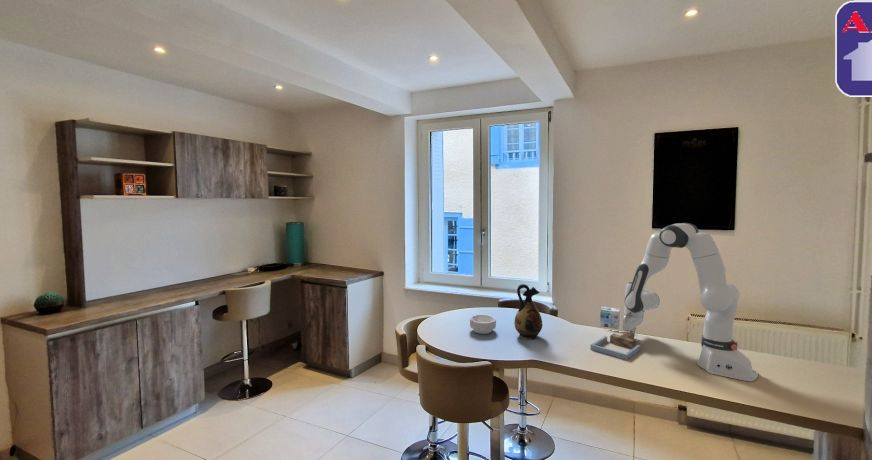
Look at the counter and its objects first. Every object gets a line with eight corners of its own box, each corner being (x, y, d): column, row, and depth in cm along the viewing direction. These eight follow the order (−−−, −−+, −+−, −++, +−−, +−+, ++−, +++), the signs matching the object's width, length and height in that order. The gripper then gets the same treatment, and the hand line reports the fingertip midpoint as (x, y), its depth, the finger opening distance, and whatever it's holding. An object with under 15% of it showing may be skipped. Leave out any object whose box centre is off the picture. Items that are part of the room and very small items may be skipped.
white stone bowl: (497, 335, 229) (497, 322, 228) (470, 336, 230) (470, 322, 229) (494, 326, 244) (494, 314, 244) (469, 326, 245) (469, 314, 244)
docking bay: (640, 350, 207) (640, 345, 207) (626, 360, 195) (627, 355, 195) (604, 340, 220) (605, 336, 220) (590, 349, 209) (590, 344, 208)
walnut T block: (641, 342, 217) (642, 335, 217) (633, 348, 209) (633, 341, 208) (619, 336, 226) (619, 329, 225) (609, 342, 217) (610, 335, 217)
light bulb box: (599, 326, 242) (600, 309, 241) (600, 323, 248) (601, 306, 247) (618, 329, 237) (619, 311, 236) (619, 325, 243) (620, 308, 242)
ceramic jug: (539, 331, 235) (540, 281, 231) (544, 342, 219) (545, 288, 216) (510, 331, 236) (510, 281, 233) (512, 341, 221) (513, 288, 218)
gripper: (631, 316, 212) (630, 341, 213) (646, 307, 226) (645, 331, 227) (619, 313, 216) (618, 338, 218) (634, 305, 230) (633, 328, 232)
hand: (632, 334), depth 223 cm, fingers closed
